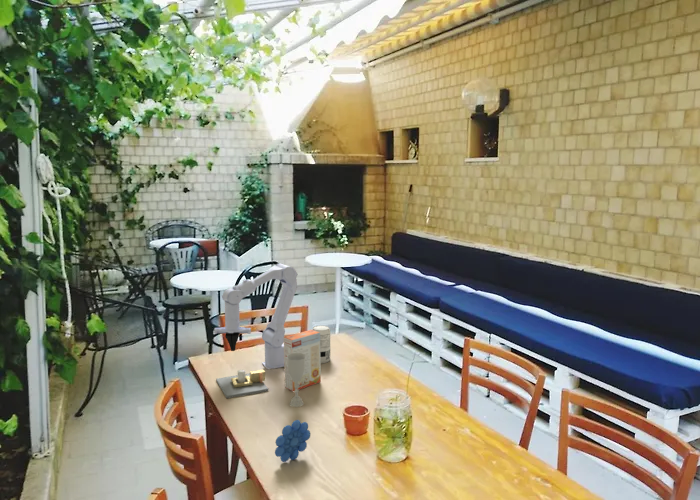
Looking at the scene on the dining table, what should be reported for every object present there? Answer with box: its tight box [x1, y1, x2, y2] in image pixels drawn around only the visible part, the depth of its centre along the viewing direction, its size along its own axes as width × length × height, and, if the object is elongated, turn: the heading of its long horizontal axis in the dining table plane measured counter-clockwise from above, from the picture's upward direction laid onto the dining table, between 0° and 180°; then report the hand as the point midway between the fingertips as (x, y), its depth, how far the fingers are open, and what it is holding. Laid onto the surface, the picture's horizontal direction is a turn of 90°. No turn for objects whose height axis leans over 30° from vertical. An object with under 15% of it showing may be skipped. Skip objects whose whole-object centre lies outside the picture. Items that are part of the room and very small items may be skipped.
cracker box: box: [283, 329, 322, 393], centre depth 213 cm, size 14×6×21 cm, turn 133°
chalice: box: [287, 353, 306, 408], centre depth 196 cm, size 7×7×18 cm
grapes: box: [274, 419, 311, 463], centre depth 160 cm, size 12×7×12 cm, turn 124°
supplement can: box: [312, 325, 331, 364], centre depth 240 cm, size 8×8×15 cm
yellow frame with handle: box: [231, 369, 266, 387], centre depth 214 cm, size 12×7×4 cm, turn 112°
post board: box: [215, 369, 269, 399], centre depth 213 cm, size 16×18×6 cm
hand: (233, 350), depth 223 cm, fingers closed
